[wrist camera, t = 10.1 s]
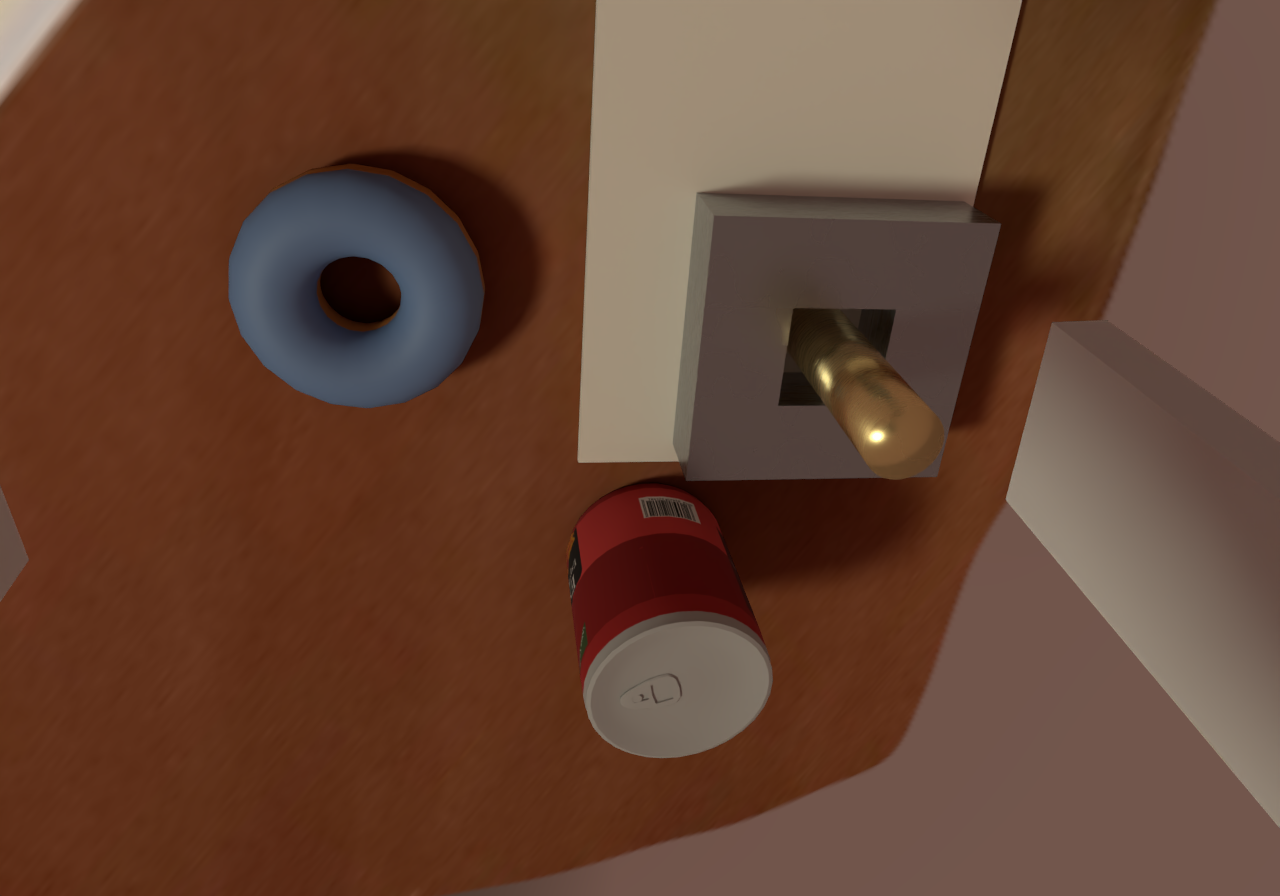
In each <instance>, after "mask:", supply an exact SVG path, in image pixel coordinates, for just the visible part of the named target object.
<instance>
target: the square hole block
mask: <svg viewBox="0 0 1280 896" xmlns="http://www.w3.org/2000/svg"><path fill="white" fill-rule="evenodd" d="M1000 227H1001V223H999V222H998V221H996V220H994V219H993V218H991V217H989V216H988V215H986V214H984V213H982V212H981V211H979V210H977V209H976V208H974V207H972V206H971V205H969V204H967V203H966V202H964V201H939V200H908V199H878V198H847V197H816V196H785V195H755V194H724V193H696V203H695V214H694V224H693V235H692V245H691V256H690V266H689V277H688V287H687V298H686V308H685V318H684V329H683V339H682V350H681V360H680V371H679V381H678V392H677V402H676V413H675V423H674V433H673V446H674V449H675V452H676V454H677V457H678V460H679V463H680V466H681V468H682V471H683V474H684V477H685V480H686V481H711V480H772V479H833V478H883V477H880V476H878V475H877V474H875V473H874V472H873V471H872V470H871V469H870V468H869V466H868V465H867V464H866V462H865V461H864V459H863V458H862V457H861V455H860V454H859V452H858V451H857V449H856V448H855V447H854V445H853V444H852V442H851V441H850V440H849V438H848V437H847V435H846V434H845V432H844V431H843V430H842V428H841V427H840V425H839V424H838V422H837V421H836V420H835V418H834V417H833V415H832V414H831V413H830V411H829V410H828V408H827V407H826V405H825V404H824V403H823V401H822V400H821V398H820V397H819V395H818V394H817V393H816V391H815V390H814V388H813V387H812V386H811V384H810V383H809V381H808V380H807V378H806V377H805V376H804V374H803V373H802V372H783V371H784V364H785V358H786V351H787V345H788V338H789V332H790V325H791V319H792V312H793V308H819V309H862V311H861V316H860V321H859V326H858V330H859V331H860V332H861V333H862V334H863V335H864V336H865V337H866V338H867V340H868V341H869V342H870V343H871V344H872V345H873V346H874V347H875V348H876V349H877V351H878V352H879V353H880V354H881V355H882V356H883V357H884V358H885V359H886V360H887V362H888V363H889V364H890V365H891V366H892V367H893V368H894V369H895V370H896V371H897V373H898V374H899V375H900V376H901V377H902V378H903V379H904V380H905V381H906V382H907V383H908V385H909V386H910V387H911V388H912V389H913V390H914V391H915V392H916V393H917V394H918V396H919V397H920V398H921V399H922V400H923V401H924V402H925V403H926V404H927V405H928V407H929V408H930V409H931V410H932V411H933V412H934V413H935V414H936V415H937V416H938V418H939V419H940V421H941V422H942V425H943V428H944V442H943V446H942V449H941V451H940V453H939V455H938V456H937V458H936V459H935V460H934V461H933V463H932V464H931V465H930V466H928V467H927V468H926V469H925V470H923V471H922V472H920V473H918V474H916V475H914V476H912V477H937V475H938V471H939V467H940V463H941V459H942V455H943V451H944V447H945V443H946V439H947V435H948V431H949V427H950V423H951V419H952V416H953V412H954V408H955V404H956V400H957V396H958V392H959V388H960V384H961V380H962V376H963V372H964V368H965V364H966V361H967V357H968V353H969V349H970V345H971V341H972V337H973V333H974V329H975V325H976V321H977V317H978V313H979V309H980V305H981V302H982V298H983V294H984V290H985V286H986V282H987V278H988V274H989V270H990V266H991V262H992V258H993V254H994V250H995V247H996V243H997V239H998V235H999V231H1000Z"/></svg>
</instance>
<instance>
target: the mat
mask: <svg viewBox="0 0 1280 896" xmlns="http://www.w3.org/2000/svg"><path fill="white" fill-rule="evenodd" d="M1021 3H1022V0H596V21H595V46H594V70H593V95H592V119H591V144H590V168H589V193H588V217H587V242H586V266H585V291H584V315H583V340H582V364H581V389H580V414H579V438H578V463H585V462H661V461H679V460H678V457H677V454H676V452H675V449H674V446H673V433H674V423H675V413H676V402H677V392H678V381H679V371H680V360H681V350H682V339H683V329H684V318H685V308H686V298H687V287H688V277H689V266H690V256H691V245H692V235H693V224H694V214H695V203H696V193H724V194H755V195H785V196H816V197H847V198H878V199H908V200H939V201H964V202H966V203H967V204H969V205H971V206H972V207H973V205H974V201H975V197H976V192H977V188H978V184H979V180H980V176H981V171H982V167H983V163H984V159H985V154H986V150H987V146H988V142H989V138H990V133H991V129H992V125H993V121H994V117H995V112H996V108H997V104H998V100H999V96H1000V91H1001V87H1002V83H1003V79H1004V75H1005V70H1006V66H1007V62H1008V58H1009V54H1010V49H1011V45H1012V41H1013V37H1014V32H1015V28H1016V24H1017V20H1018V16H1019V11H1020V7H1021ZM840 310H841V311H842V312H843V313H844V314H845V315H846V316H847V318H848V319H849V320H850V321H851V322H852V323H853V324H854V325H855V326H856V327H857V329H858V326H859V321H860V316H861V311H862V309H840ZM783 372H802V371H801V370H800V368H799V367H798V366H797V364H796V363H795V361H794V360H793V359H792V357H791V356H790V354H789V353H788V351H786V358H785V364H784V371H783Z"/></svg>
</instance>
